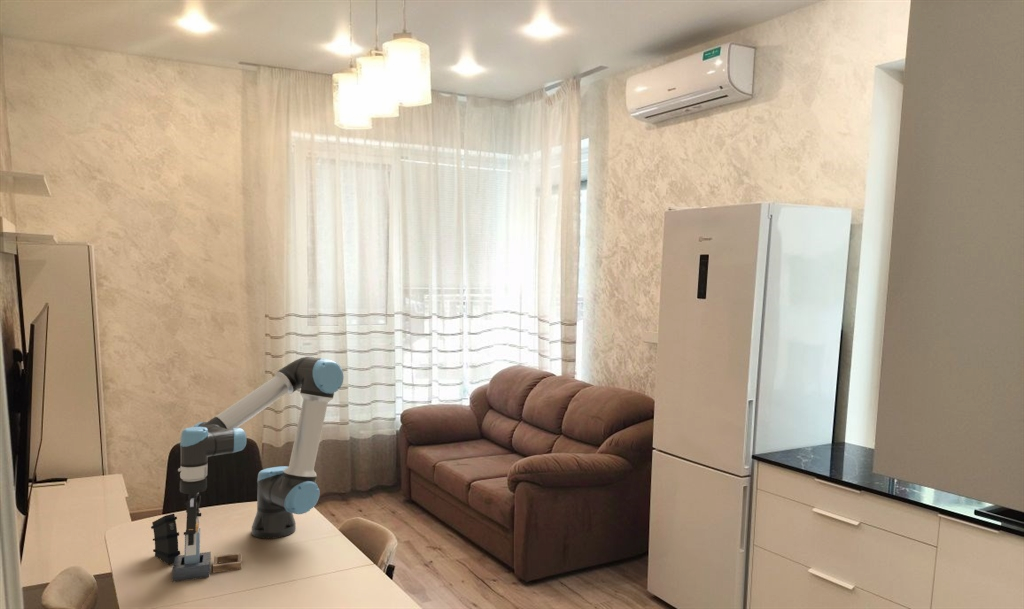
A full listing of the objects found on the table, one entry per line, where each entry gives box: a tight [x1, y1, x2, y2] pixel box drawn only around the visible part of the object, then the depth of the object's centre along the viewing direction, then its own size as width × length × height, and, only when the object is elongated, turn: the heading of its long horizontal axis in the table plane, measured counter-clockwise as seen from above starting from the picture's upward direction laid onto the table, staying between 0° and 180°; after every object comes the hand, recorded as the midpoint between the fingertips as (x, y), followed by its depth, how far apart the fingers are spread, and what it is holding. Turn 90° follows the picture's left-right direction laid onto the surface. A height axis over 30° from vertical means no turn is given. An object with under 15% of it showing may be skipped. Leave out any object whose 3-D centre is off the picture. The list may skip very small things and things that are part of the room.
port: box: [171, 551, 212, 583], centre depth 198 cm, size 10×10×4 cm
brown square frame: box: [212, 552, 242, 573], centre depth 203 cm, size 8×8×2 cm
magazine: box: [150, 513, 181, 566], centre depth 207 cm, size 4×13×15 cm, turn 51°
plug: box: [184, 523, 201, 565], centre depth 197 cm, size 4×4×15 cm
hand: (192, 546), depth 197 cm, fingers open, 13 cm apart
